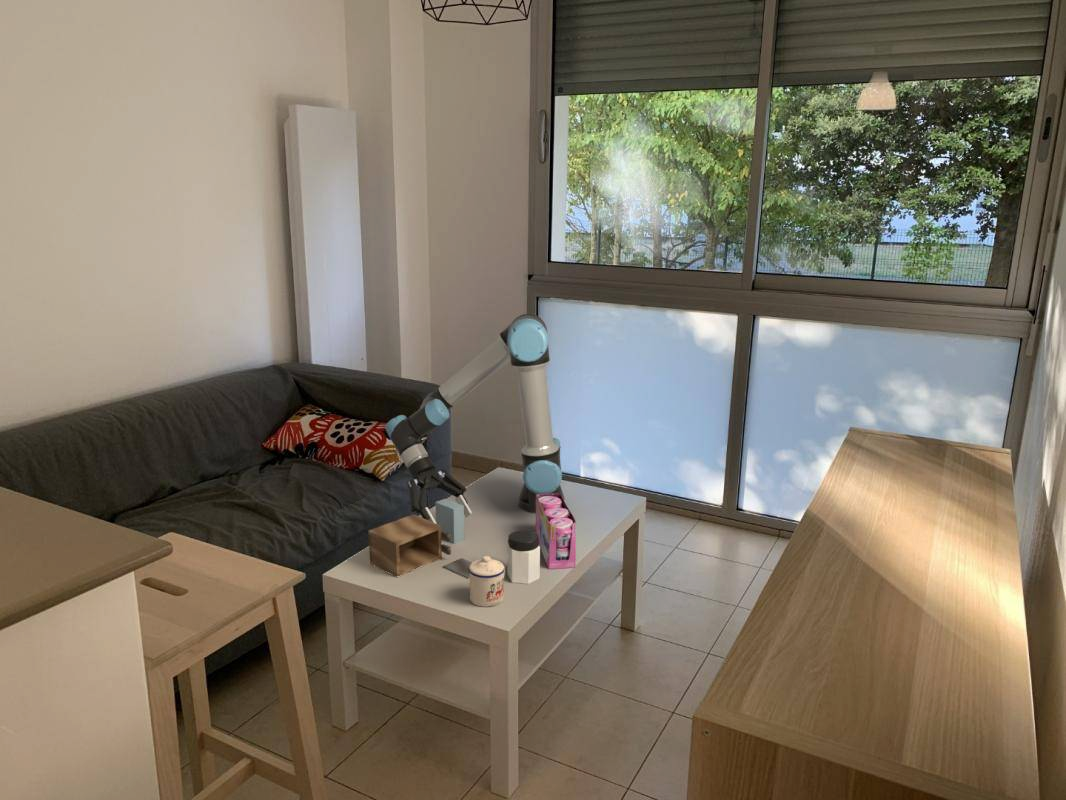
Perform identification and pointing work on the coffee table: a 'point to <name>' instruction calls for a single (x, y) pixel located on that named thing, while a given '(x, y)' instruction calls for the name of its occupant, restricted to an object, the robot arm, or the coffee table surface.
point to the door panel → (451, 519)
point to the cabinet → (411, 546)
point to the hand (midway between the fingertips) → (452, 521)
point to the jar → (523, 557)
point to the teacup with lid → (486, 582)
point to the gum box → (556, 531)
